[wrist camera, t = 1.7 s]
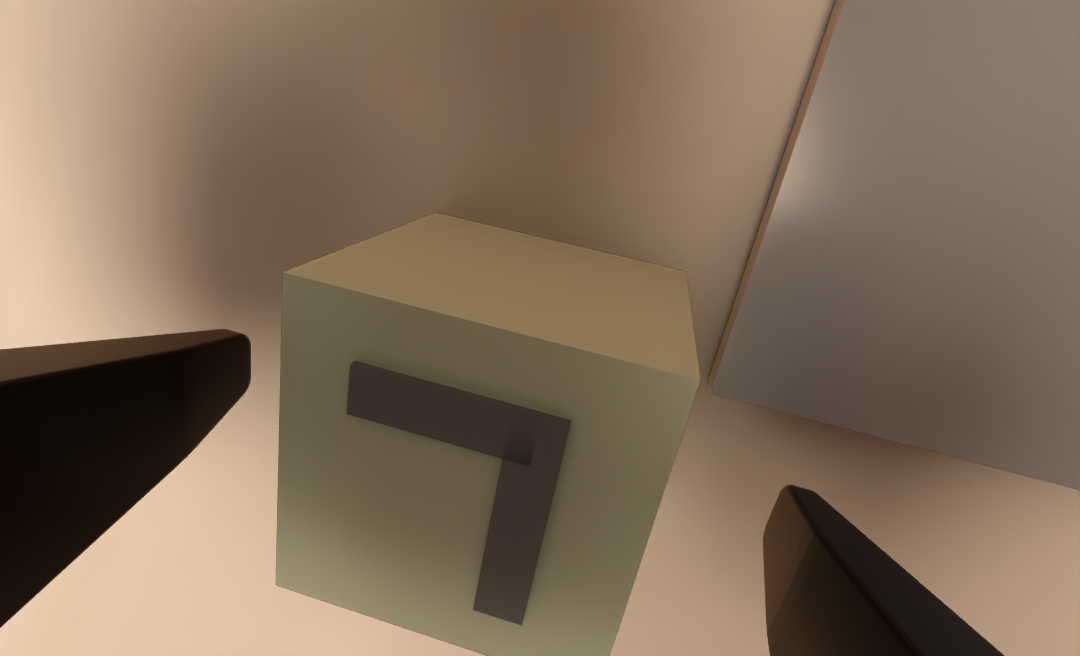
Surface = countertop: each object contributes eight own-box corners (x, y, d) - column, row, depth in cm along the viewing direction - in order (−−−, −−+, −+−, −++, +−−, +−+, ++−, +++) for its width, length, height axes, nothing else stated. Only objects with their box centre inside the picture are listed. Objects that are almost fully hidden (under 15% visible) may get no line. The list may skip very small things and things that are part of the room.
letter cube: (686, 270, 11) (701, 384, 6) (622, 485, 13) (596, 700, 8) (431, 210, 11) (267, 271, 7) (406, 422, 13) (263, 588, 9)
